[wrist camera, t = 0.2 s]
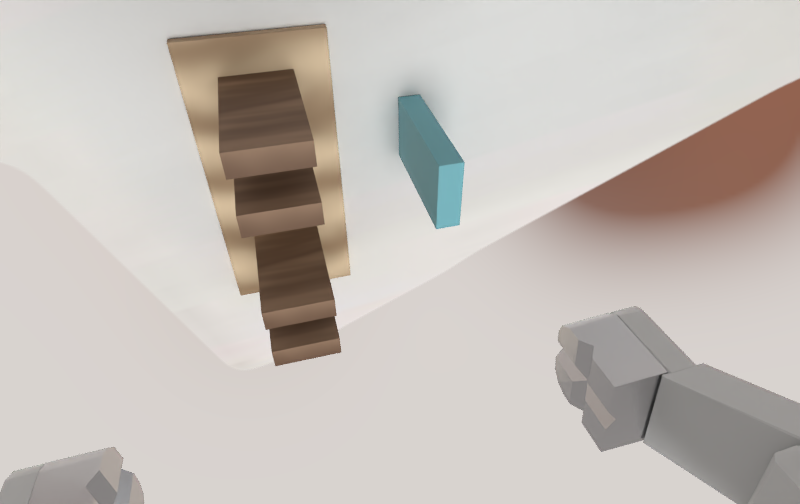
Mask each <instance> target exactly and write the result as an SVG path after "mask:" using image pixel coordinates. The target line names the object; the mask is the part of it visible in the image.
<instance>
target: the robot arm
mask: <svg viewBox="0 0 800 504" xmlns="http://www.w3.org/2000/svg"><path fill="white" fill-rule="evenodd" d="M558 342H559V343H560V344H561V346H562V347H563V349H562V350H561V351H560V353H559V354H558V355H557V356H556V367H555V370H556V374H557V379H558V383H559V385H560V387H561V389H562V392H563V394H564V395H565V397H566V398H567V400H568V402H569V403H570V404H572V405H573V406H575V407H577V408H579V409H581V410H583V417H582V423H583V425H584V427H585V428H586V430H587V431H588V433H589V434H590V436H591V437H592V439H593V440H594V442H595V443H596V445H597V446H598V448H599V449H600V451H601V452H602V451H606V450H609V449H613V448H617V447H620V446H624V445H627V444H631V443H635V442H638V441H642V440H644V441H643V443H645V444H646V445H648V446H649V447H651V448H652V449H654V450H655V451H657V452H659V453H660V454H662V455H663V456H665V457H666V458H668V459H669V460H671V461H672V462H674V463H675V464H677V465H678V466H680V467H681V468H683V469H685V470H686V471H688V472H689V473H691V474H692V475H694V476H695V477H697V478H698V479H700V480H702V481H703V482H704V483H706V484H708V485H709V486H711V487H712V488H714V489H715V490H717V491H718V492H720V493H721V494H723V495H724V496H726V497H728V498H729V499H731V500H732V501H734V502H735V503H737V504H800V403H797V402H795V401H792V400H790V399H788V398H785V397H783V396H780V395H778V394H776V393H773V392H771V391H768V390H766V389H764V388H761V387H759V386H756V385H754V384H752V383H749V382H747V381H744V380H742V379H739V378H737V377H735V376H732V375H730V374H728V373H725V372H723V371H721V370H718V369H716V368H713V367H711V366H709V365H706V364H704V363H703V364H699V365H695V364H694V363H693V362H692V361H691V359H690V358H689V357H688V356H687V355H686V354H685V353H684V352H683V351H682V350H681V349H680V348H679V347H678V346H677V345H676V344H675V343H674V342H673V341H672V340H671V339H670V338H669V337H668V336H667V335H666V334H665V333H664V331H662V329H661V328H660V327H659V326H658V325H657V324H656V323H655V322H654V321H653V320H652V319H651V318H650V317H649V316H648V315H647V314H646V313H645V312H644V311H643V310H642V309H641V308H639V307H636V306H634V307H630V308H626V309H622V310H619V311H615V312H612V313H606V314H603V315H599V316H596V317H592V318H588V319H585V320H581V321H578V322H574V323H571V324H567V325H564V326H562V327H561V329H560V330H559V335H558ZM122 462H123V457H122V456H121V455H120V454H119V452H118V451H117V450H116V448H115V447H111V448H106V449H102V450H98V451H93V452H89V453H85V454H81V455H77V456H73V457H68V458H64V459H60V460H56V461H52V462H48V463H45V464H41V465H37V466H34V467H29V468H25V469H21V470H17V471H13V472H12V474H11V475H10V476H9V477H8V478H7V479H6V480H5V482H4V484H3V487H2V490H1V492H0V504H144V497H143V491H142V488H141V485H140V483H139V481H138V479H137V478H136V476H135V475H134V473H132V472H129V471H125V470H123V469H121V468H122Z"/></svg>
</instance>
